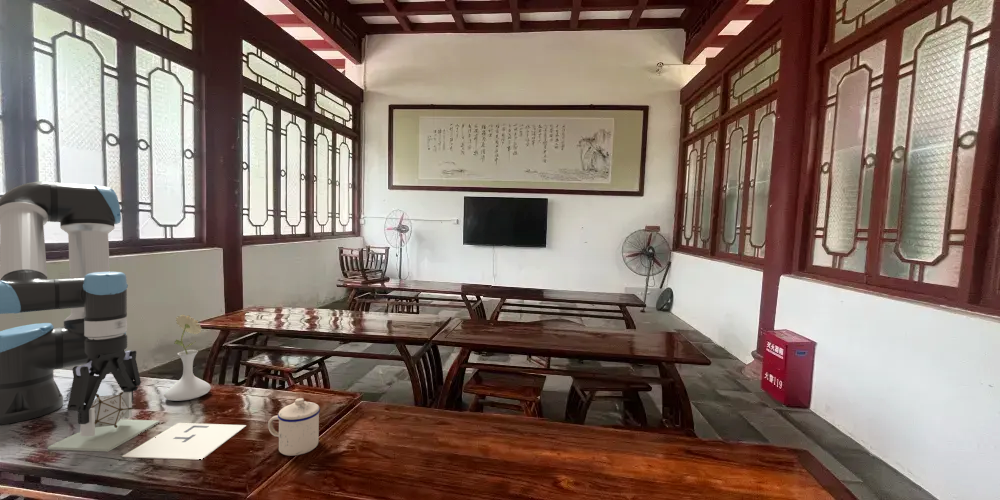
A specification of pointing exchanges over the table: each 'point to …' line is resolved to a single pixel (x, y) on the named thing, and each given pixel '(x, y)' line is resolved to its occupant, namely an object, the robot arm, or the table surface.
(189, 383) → the flower in vase
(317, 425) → the teacup with lid
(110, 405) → the game die
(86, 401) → the robot arm
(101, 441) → the sage mat
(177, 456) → the card
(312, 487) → the table surface
